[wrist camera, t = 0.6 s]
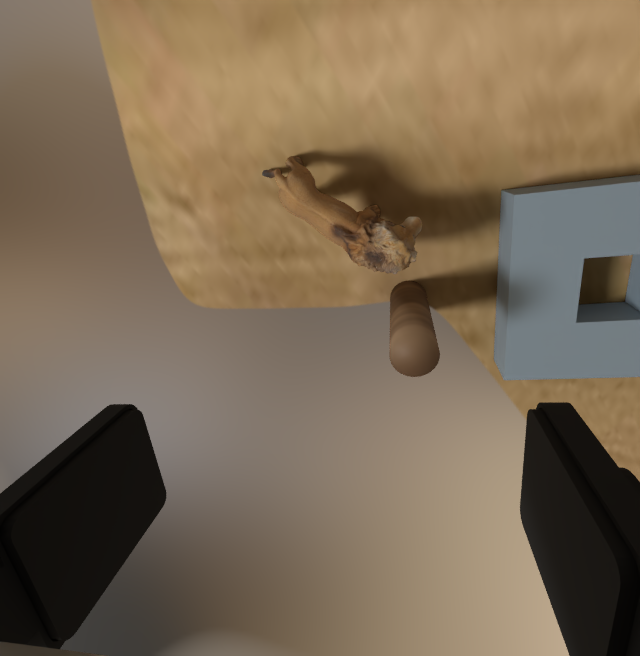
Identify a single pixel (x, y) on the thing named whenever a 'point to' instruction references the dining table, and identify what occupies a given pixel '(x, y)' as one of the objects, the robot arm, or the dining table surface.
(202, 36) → the dining table surface
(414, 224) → the lion figurine
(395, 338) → the peg
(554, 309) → the socket block
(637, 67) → the dining table surface
